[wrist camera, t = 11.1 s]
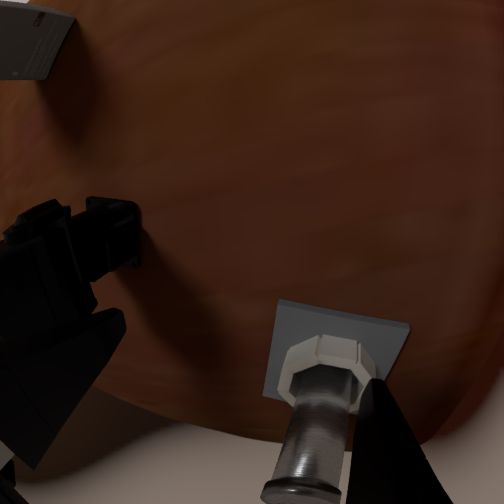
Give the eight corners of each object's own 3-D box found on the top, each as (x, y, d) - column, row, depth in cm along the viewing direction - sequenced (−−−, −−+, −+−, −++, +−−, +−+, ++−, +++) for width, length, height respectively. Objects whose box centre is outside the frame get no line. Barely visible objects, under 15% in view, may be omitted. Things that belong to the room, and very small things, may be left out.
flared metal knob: (292, 356, 24) (246, 489, 13) (347, 344, 22) (327, 492, 11) (311, 391, 25) (278, 512, 14) (361, 382, 23) (346, 513, 12)
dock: (264, 390, 28) (256, 412, 25) (279, 298, 23) (270, 321, 20) (363, 409, 26) (362, 433, 23) (408, 323, 20) (414, 349, 18)
